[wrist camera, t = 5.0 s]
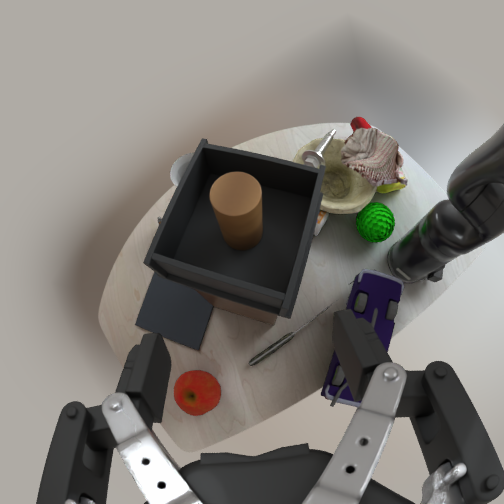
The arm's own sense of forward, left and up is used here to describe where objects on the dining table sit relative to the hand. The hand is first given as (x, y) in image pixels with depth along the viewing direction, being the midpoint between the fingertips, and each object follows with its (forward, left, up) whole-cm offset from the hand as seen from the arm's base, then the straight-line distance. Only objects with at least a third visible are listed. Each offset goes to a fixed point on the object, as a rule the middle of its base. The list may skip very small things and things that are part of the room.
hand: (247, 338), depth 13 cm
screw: (-3, -38, -31) cm, 49 cm away
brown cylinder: (+5, -10, -15) cm, 19 cm away
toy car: (-17, -5, -31) cm, 35 cm away
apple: (+8, +12, -41) cm, 44 cm away
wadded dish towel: (-16, -46, -30) cm, 57 cm away
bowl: (-5, -36, -41) cm, 55 cm away
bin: (+5, -10, -41) cm, 43 cm away
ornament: (-16, -26, -35) cm, 46 cm away
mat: (+18, -2, -41) cm, 45 cm away
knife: (-5, -4, -41) cm, 42 cm away
